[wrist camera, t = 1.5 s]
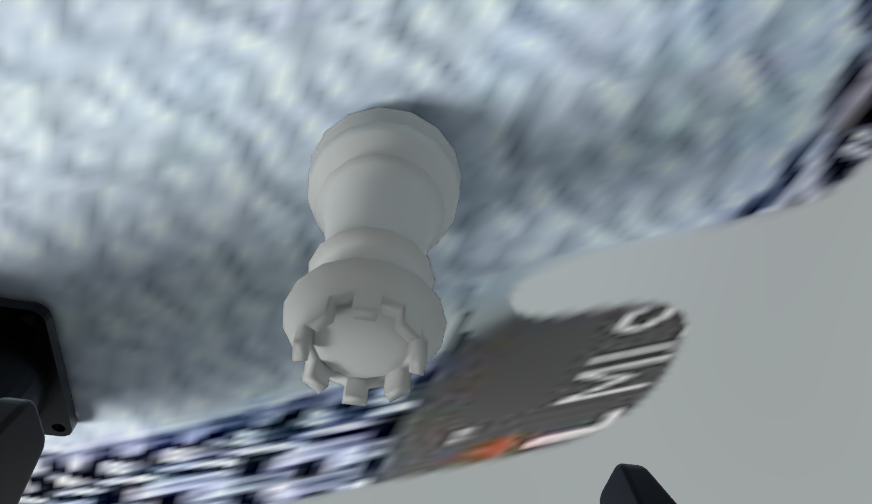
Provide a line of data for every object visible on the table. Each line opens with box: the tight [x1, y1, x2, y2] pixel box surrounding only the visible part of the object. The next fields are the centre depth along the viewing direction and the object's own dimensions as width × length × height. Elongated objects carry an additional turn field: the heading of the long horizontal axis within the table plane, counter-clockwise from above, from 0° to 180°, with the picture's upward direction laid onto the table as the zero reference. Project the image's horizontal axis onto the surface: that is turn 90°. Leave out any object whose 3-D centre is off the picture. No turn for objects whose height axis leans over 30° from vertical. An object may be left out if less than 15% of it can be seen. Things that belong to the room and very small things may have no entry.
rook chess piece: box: [283, 107, 461, 406], centre depth 14 cm, size 4×4×8 cm
